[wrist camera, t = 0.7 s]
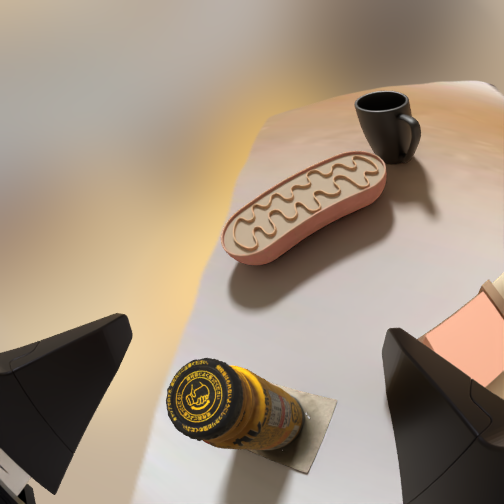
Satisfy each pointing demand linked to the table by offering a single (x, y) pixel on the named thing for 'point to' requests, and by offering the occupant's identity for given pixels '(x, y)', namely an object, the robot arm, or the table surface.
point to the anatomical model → (303, 206)
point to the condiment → (247, 412)
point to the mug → (389, 125)
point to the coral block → (472, 340)
